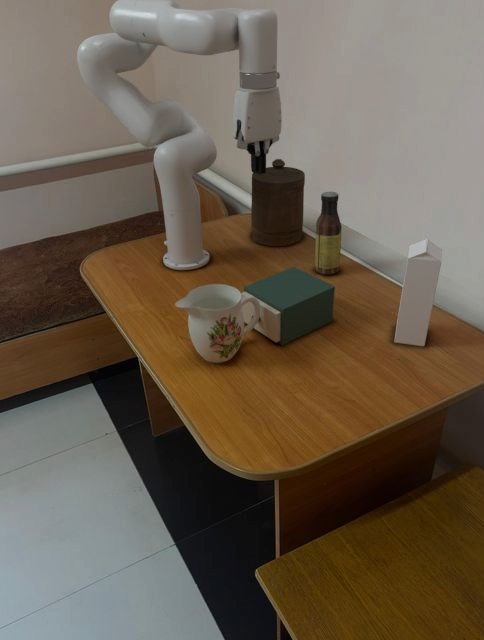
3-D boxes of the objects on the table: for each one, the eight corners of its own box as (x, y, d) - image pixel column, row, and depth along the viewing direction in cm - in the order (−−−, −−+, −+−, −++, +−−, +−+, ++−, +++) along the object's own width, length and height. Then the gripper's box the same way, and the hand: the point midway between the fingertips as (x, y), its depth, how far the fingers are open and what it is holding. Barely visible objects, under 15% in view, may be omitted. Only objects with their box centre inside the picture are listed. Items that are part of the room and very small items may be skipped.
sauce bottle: (344, 271, 137) (351, 194, 126) (325, 278, 134) (331, 200, 123) (326, 262, 142) (331, 188, 130) (308, 269, 139) (312, 193, 127)
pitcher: (273, 351, 109) (274, 292, 101) (194, 380, 102) (188, 318, 94) (246, 326, 117) (245, 270, 109) (171, 351, 110) (163, 293, 102)
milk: (393, 342, 110) (409, 242, 98) (395, 327, 115) (411, 229, 102) (425, 347, 108) (444, 245, 96) (425, 331, 113) (444, 232, 100)
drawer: (271, 344, 109) (271, 316, 106) (237, 322, 117) (236, 294, 113) (322, 320, 117) (324, 292, 113) (287, 300, 124) (288, 274, 120)
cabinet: (282, 345, 111) (283, 309, 106) (244, 320, 119) (243, 286, 114) (332, 321, 118) (335, 286, 113) (293, 299, 126) (294, 266, 121)
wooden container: (312, 233, 158) (316, 156, 145) (284, 251, 148) (285, 171, 136) (270, 223, 166) (270, 149, 153) (241, 239, 156) (239, 162, 144)
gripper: (274, 75, 115) (273, 162, 125) (217, 83, 108) (221, 175, 118) (298, 78, 110) (295, 169, 120) (239, 88, 103) (241, 183, 113)
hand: (258, 172), depth 119 cm, fingers closed
